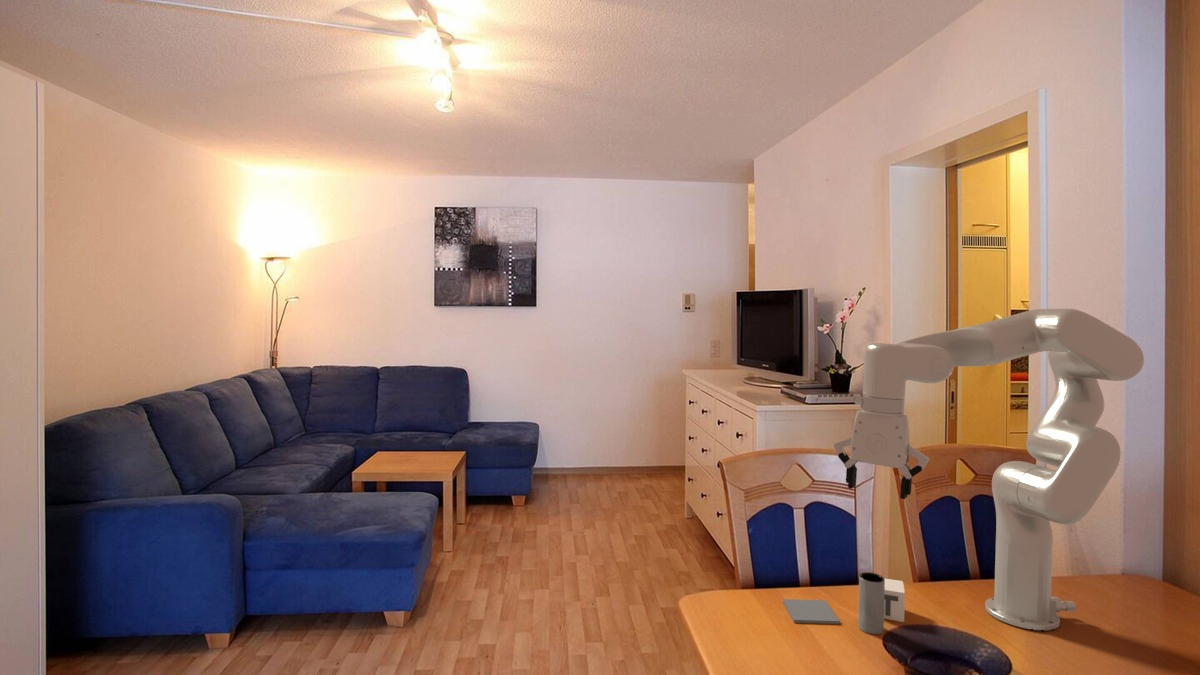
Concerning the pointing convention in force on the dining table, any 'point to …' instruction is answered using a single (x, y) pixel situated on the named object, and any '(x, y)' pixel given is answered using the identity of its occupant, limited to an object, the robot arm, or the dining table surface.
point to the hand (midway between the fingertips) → (877, 492)
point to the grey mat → (810, 611)
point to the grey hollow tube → (871, 603)
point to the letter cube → (894, 600)
